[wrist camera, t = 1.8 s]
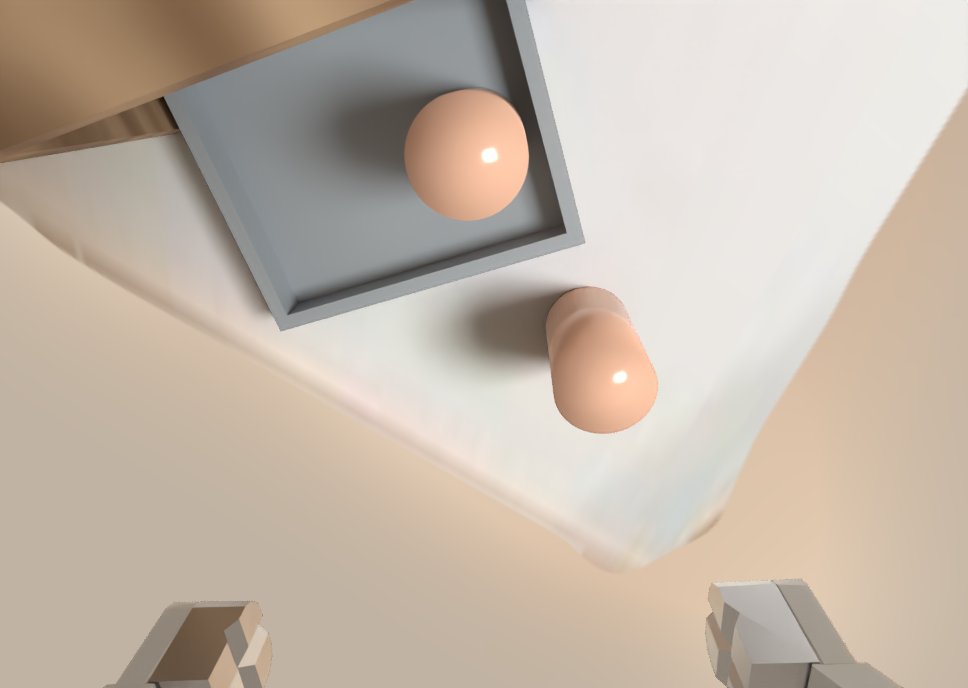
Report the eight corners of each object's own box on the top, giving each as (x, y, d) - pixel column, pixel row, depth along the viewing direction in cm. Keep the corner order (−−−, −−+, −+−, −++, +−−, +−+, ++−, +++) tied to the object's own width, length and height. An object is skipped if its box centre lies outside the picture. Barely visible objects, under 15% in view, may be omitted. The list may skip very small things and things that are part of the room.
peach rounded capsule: (618, 276, 34) (646, 331, 27) (635, 350, 36) (666, 420, 28) (536, 299, 35) (541, 358, 27) (557, 370, 37) (567, 443, 29)
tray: (504, -73, 27) (503, -88, 25) (580, 231, 33) (585, 243, 30) (172, 57, 30) (143, 56, 28) (296, 314, 36) (280, 331, 33)
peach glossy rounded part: (509, 73, 29) (508, 72, 22) (536, 171, 31) (542, 200, 24) (417, 105, 30) (385, 114, 23) (448, 199, 32) (428, 235, 25)
